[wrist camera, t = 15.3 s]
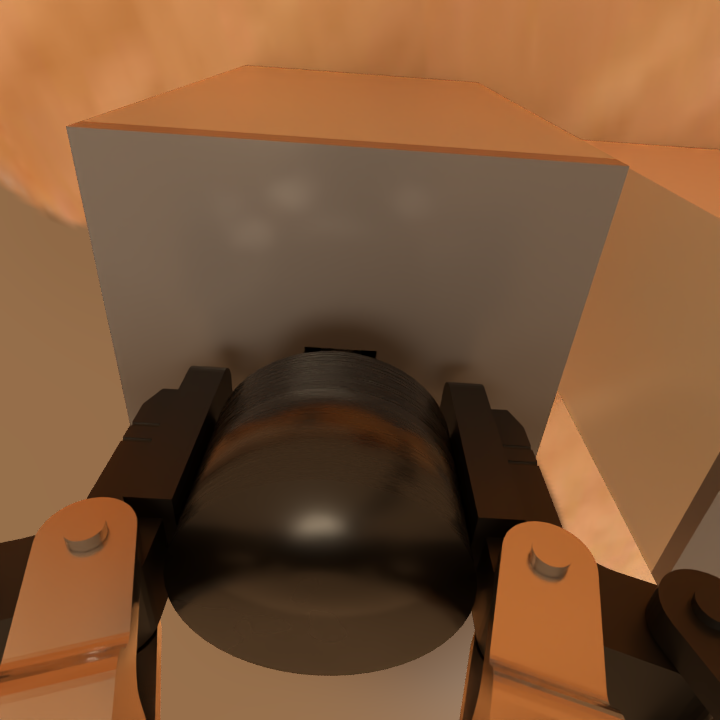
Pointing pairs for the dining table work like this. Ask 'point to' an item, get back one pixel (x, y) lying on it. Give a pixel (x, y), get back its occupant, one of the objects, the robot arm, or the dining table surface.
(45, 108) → the dining table surface
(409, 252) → the block
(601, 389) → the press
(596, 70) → the dining table surface
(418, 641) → the plunger
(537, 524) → the robot arm
